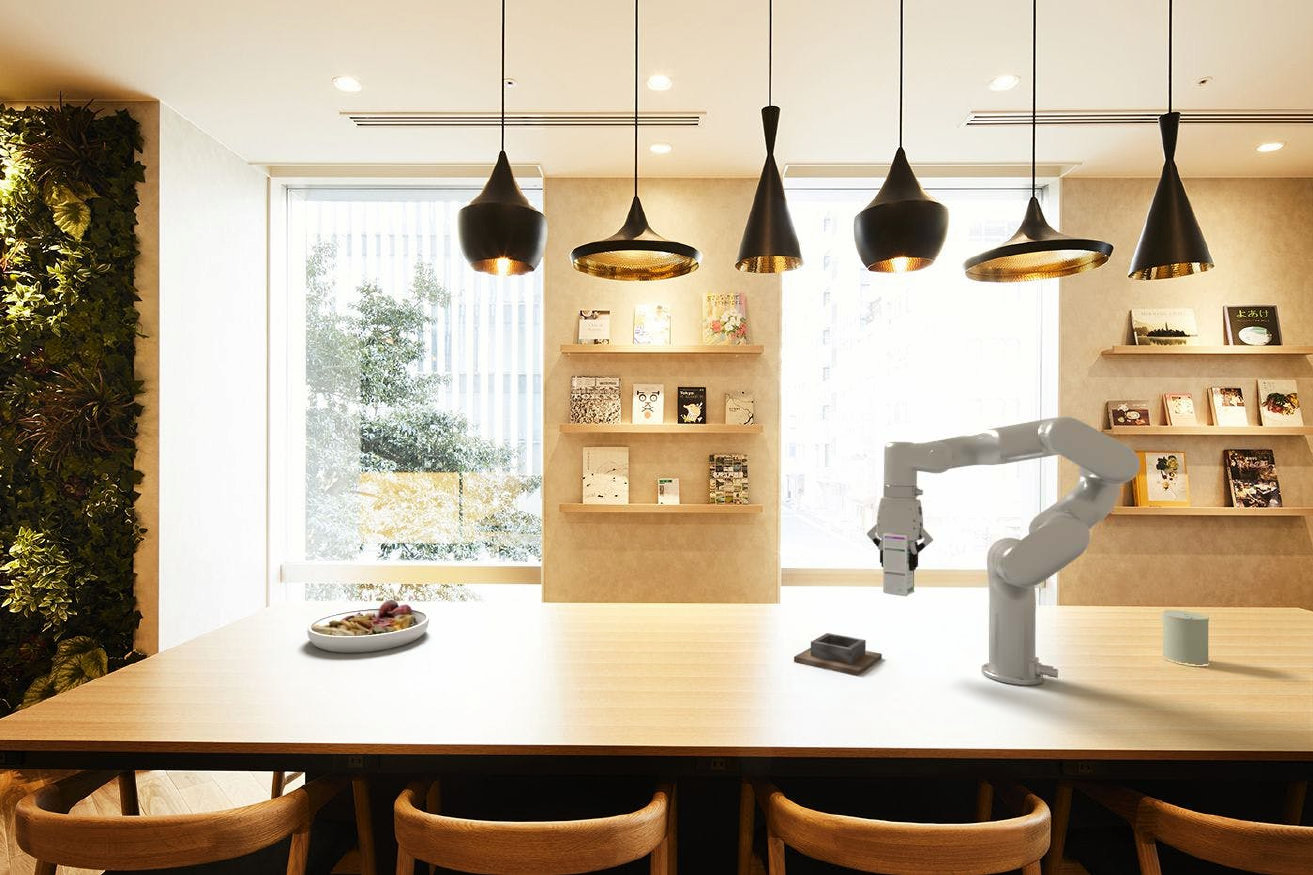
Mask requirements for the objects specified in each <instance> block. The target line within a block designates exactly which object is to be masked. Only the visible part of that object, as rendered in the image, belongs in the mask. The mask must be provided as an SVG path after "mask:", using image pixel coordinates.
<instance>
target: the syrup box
mask: <svg viewBox="0 0 1313 875" xmlns="http://www.w3.org/2000/svg"><path fill="white" fill-rule="evenodd" d="M909 554H911V549H910V546H909V542H908V536H907V535H904V534H897V533H885V534H883V567H882V572H883V573H882V577H883V578H882V582H883V583H882V588H883V589H882V592H883V593H884V594H887V595H893V596H900V597H908V596H909V595H911V594H913V593H915V570H914V571H910V570H909Z"/></svg>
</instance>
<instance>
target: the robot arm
mask: <svg viewBox="0 0 1313 875" xmlns="http://www.w3.org/2000/svg"><path fill="white" fill-rule="evenodd" d="M883 448H884V449H883V455H884V456H883V497H880V499H879V500H880V501H879V505H878V508H877V516H876V524H874V526H873V527H872V528H871V529H870V530H869V531H867V533H866V535H867V537H868V538H869V539H870V540H871V541H872V543H873V544H874V545H875V547H877V549H878V550H879V563H880V564H881V568H883V534H885V533H897V534H904V535H907V536H908V542H909V546H910V549H911V554H909V570H910V571H914V572H915V570H916V569H917V568H918V567H919V553H920V552H922V551H923V549H925V548H926V547H927V546H929V545H930V544H932V543H933V541H934V539H933V537H932V536H931V535H930V534H929V533H928V531H927V530H926V529H925V528H924V516H923V509H922V508H923V506H922V501H921V499H918V497H919V496H923V495H924V490H923V489H920V488H919V487H918V485H917V484H918V472H923V473H929V474H936V475H937V474H943V473H945V472H947V471H949V470H951V469H956V468H964V467H972V466H996V465H997V466H998V465H1005V464H1011V463H1017V462H1021V461H1027V460H1028V461H1029V460H1030V461H1031V460H1034V459H1041V458H1046V457H1047V458H1048V457H1052V456H1053V457H1054V456H1062V457H1063V458H1065V459H1067V460H1069V461H1070V462H1071V463H1073V464H1074V465H1077V466H1078V472H1079V475H1078V476H1079V477H1078V481H1077V483H1076V485H1075V486H1074V487H1073V489H1072V490H1070V491H1069V492H1068V493H1067V494H1066V495H1064V496H1063V497H1062V498H1060V499H1059V500H1058V501H1055V503H1053V504H1052V505H1050V506H1049V507H1048V508H1046V509H1045V510H1044V511H1042V512H1041V513H1038V515H1036V516H1035V517H1033V519H1032V520H1031V522H1030V523H1029V526H1028V534H1027V535H1026V536H1025V537H1023V538H1022V539H1017V538H1013V537H1005V538H1000V539H998V540H997V541H995V542H993V544H992V545H991V546H990V547H989V550H988V552H987V556H986V557H987V558H986V567H987V580H988V600H989V601H988V662H987V663H984V664H982V666H981V673H982V674H983V675H984V676H985V677H986V678H987V677H988V678H989V679H992V680H994V681H998V682H1000V683H1006V684H1012V685H1018V686H1019V685H1020V686H1033V685H1040V684H1041V683H1043V682H1044V676H1046V677H1049V678H1054V679H1058V678H1059V669H1058V668H1054V666H1052V665H1046V664H1042V662H1040V661H1039V660H1040V659H1039V658H1040V657H1038V656H1036V628H1037V625H1036V621H1037V620H1036V618H1037V616H1036V611H1037V610H1036V609H1037V606H1036V605H1037V604H1036V602H1037V599H1036V587H1035V586H1038V585H1040V584H1042V583H1043V582H1045V581H1047V580H1048V579H1049V578H1050V577H1053V576H1054V575H1055V574H1056V573H1058V572H1060V571H1061V570H1062V569H1065V567H1067V566H1068V565H1069V564H1071V563H1072V562H1074V561H1075V560H1076V559H1078V558H1079V557H1080V556H1082V554H1083V553H1084V552H1086V550H1087V548H1088V547H1089V544H1090V542H1091V531H1090V529H1092V528H1093V527H1095V526H1096V525H1097V524H1098V523H1099V522H1101V521H1103V519H1104V518H1106V517H1108V515H1109V514H1110V513H1111V512H1112V511H1113V509H1114V508H1115V506H1116V504H1117V501H1118V500H1119V494H1120V487H1121V484H1126V483H1127V482H1130V481H1132V480H1133V479H1134V478H1136V476H1137V475H1138V473H1139V472H1140V469H1141V468H1140V467H1141V462H1140V458H1139V456H1138V454H1137V453H1136V452H1135V450H1133V449H1132V448H1131V447H1129V446H1128V445H1126V444H1125V443H1122V442H1121V441H1118V440H1117V439H1115V438H1113V437H1111V436H1109V435H1108V434H1105V433H1103V432H1102V431H1100V430H1098V429H1096V428H1094V427H1093V426H1091V425H1088V424H1087V423H1085V422H1083V421H1081V420H1079V419H1077V418H1073V417H1071V416H1058V417H1052V418H1051V417H1050V418H1045V419H1040V420H1035V421H1027V422H1023V423H1017V424H1011V425H1006V426H1000V427H994V428H990V429H984V430H982V431H978V432H975V433H972V434H966V435H961V436H960V435H959V436H954V437H950V438H945V439H938V440H932V441H927V442H919V443H918V442H917V443H916V442H915V443H914V442H911V441H889V442H887V443H885V446H884V447H883ZM922 539H923V540H922ZM921 540H922V542H921V543H918V541H921Z"/></svg>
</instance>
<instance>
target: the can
mask: <svg viewBox="0 0 1313 875" xmlns="http://www.w3.org/2000/svg"><path fill="white" fill-rule="evenodd" d="M1161 613H1162V655H1163V656H1164V657H1165V658H1167V659H1170V660H1173V661H1177V662H1181V663H1188V664H1195V665H1203V664H1208V663H1209V664H1210V662H1209V660H1210V659H1209V620H1210V617H1209V616H1207V615H1205V614H1201V613H1197V612H1192V611H1185V610H1174V609H1173V610H1169V609H1167V610H1163V611H1162V612H1161Z"/></svg>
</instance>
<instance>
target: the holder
mask: <svg viewBox="0 0 1313 875" xmlns="http://www.w3.org/2000/svg"><path fill="white" fill-rule="evenodd" d="M866 640H867V639H862V638H856V637H851V636H846V635H845V636H844V635H839V634H834V633H828V632H827V633H825V634H823V635H821V636H818V637H817V638H815V639H814V640H812V641H811V640H810V647H808V649H806V650H804V651H801V652H800V653H798V654H796V655H795V656H793V662H794V663H799V664H802V665H803V664H804V665H806V666H807V665H808V666H813V667H817V668H821V669H826V670H831V671H836V672H840V673H844V674H849V675H853V676H857V677H858V676H860V675H861V674H863V673H864V672H865V671H867V670H868V669H869V668H871V667H873V665H875V664H877V663H878V662H879V661H880V660H882V658H883V657H882V656H883V654H882V653H879V652H876V651H870V650H866V647H867V646H866V642H867V641H866Z"/></svg>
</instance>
